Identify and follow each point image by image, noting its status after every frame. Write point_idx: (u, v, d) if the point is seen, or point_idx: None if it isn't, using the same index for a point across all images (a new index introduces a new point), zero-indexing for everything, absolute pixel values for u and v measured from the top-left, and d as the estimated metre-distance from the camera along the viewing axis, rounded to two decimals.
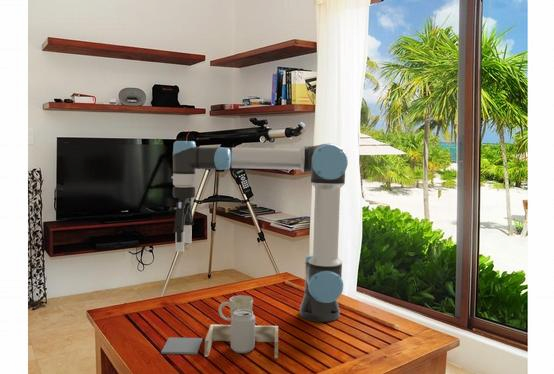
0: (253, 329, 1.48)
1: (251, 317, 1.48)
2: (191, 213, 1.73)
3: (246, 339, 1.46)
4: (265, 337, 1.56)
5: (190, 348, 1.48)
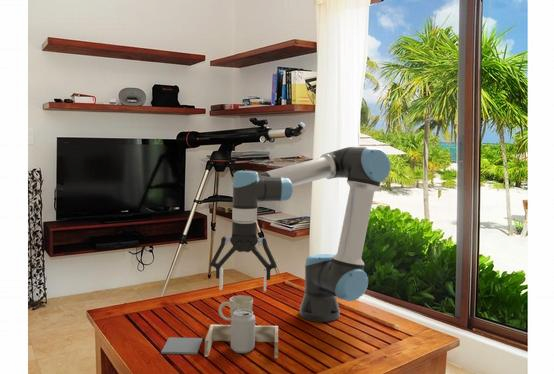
0: (253, 329, 1.48)
1: (251, 317, 1.48)
2: (269, 257, 1.47)
3: (246, 339, 1.46)
4: (265, 337, 1.56)
5: (190, 348, 1.48)
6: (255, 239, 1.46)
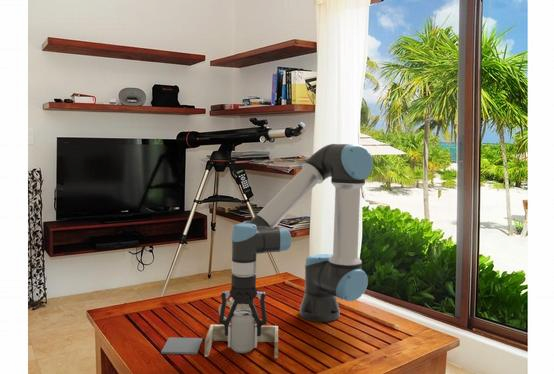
0: (253, 329, 1.48)
1: (251, 317, 1.48)
2: (262, 312, 1.48)
3: (246, 339, 1.46)
4: (265, 337, 1.56)
5: (190, 348, 1.48)
6: (255, 292, 1.48)
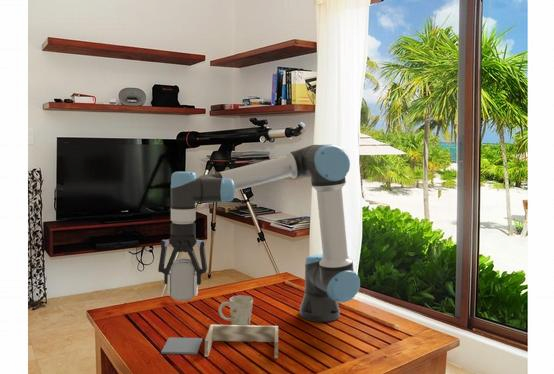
0: (193, 277, 1.48)
1: (190, 265, 1.47)
2: (202, 260, 1.48)
3: (184, 287, 1.46)
4: (265, 337, 1.56)
5: (190, 348, 1.48)
6: (194, 240, 1.47)
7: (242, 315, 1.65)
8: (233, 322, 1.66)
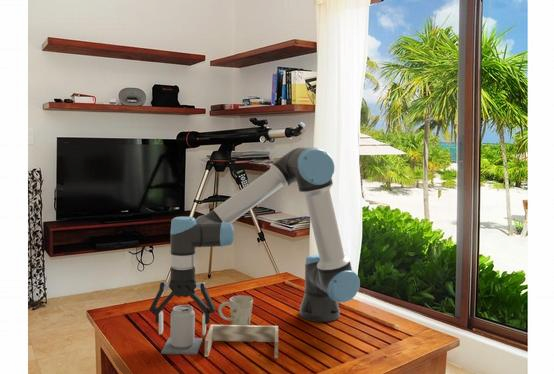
0: (192, 325, 1.49)
1: (190, 313, 1.48)
2: (207, 301, 1.49)
3: (184, 335, 1.47)
4: (265, 337, 1.56)
5: (190, 348, 1.48)
6: (193, 284, 1.48)
7: (242, 315, 1.65)
8: (233, 322, 1.66)
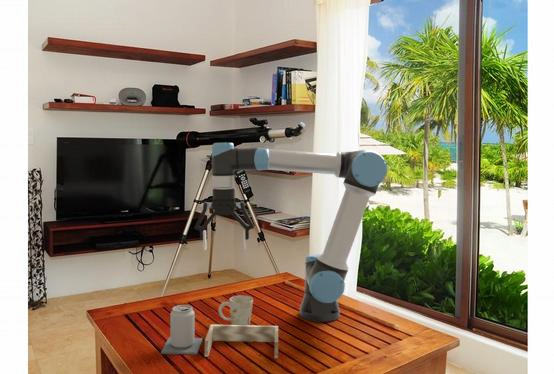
0: (192, 325, 1.49)
1: (190, 313, 1.48)
2: (247, 218, 1.64)
3: (184, 335, 1.47)
4: (265, 337, 1.56)
5: (190, 348, 1.48)
6: (234, 203, 1.63)
7: (242, 315, 1.65)
8: (233, 322, 1.66)
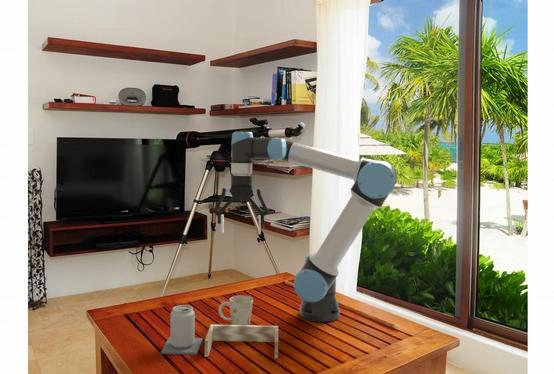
0: (192, 325, 1.49)
1: (190, 313, 1.48)
2: (262, 204, 1.72)
3: (184, 335, 1.47)
4: (265, 337, 1.56)
5: (190, 348, 1.48)
6: (251, 189, 1.72)
7: (242, 315, 1.65)
8: (233, 322, 1.66)
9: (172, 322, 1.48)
